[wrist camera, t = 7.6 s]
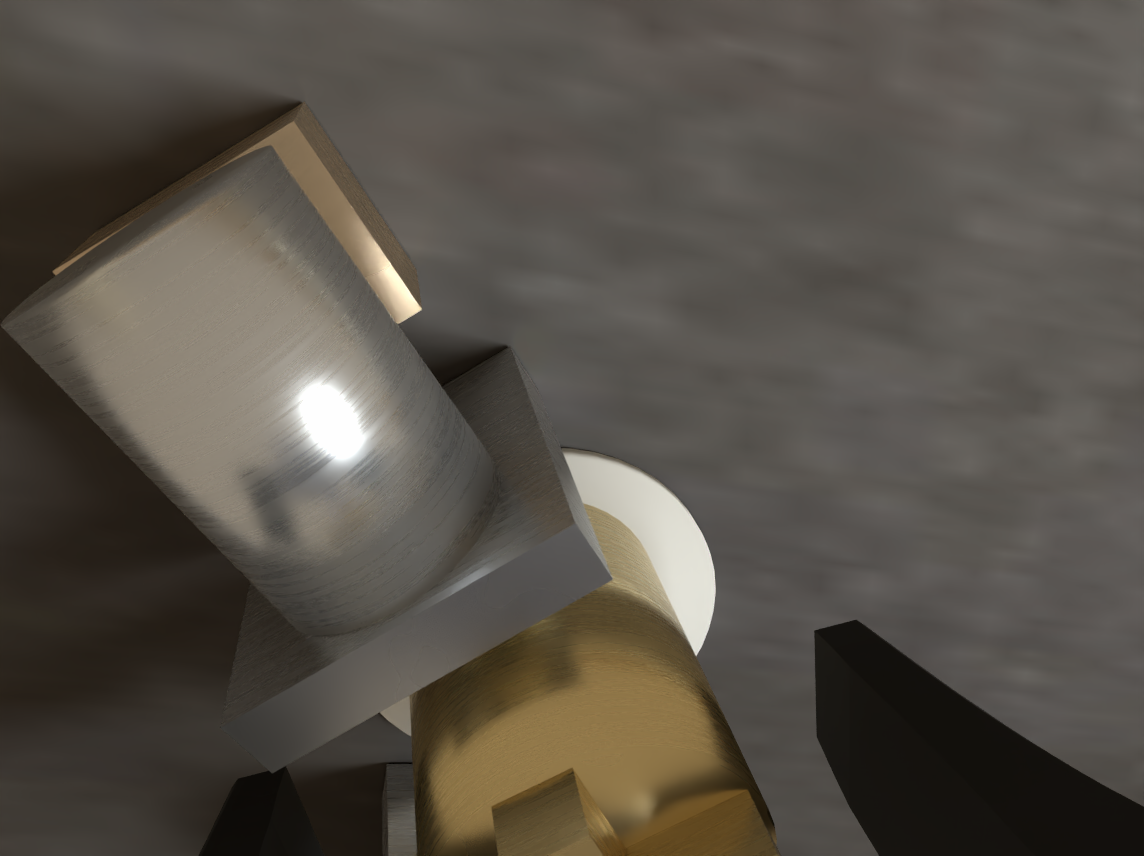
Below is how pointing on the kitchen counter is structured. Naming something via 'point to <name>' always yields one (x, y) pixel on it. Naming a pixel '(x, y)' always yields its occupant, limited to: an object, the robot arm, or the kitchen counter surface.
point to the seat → (658, 529)
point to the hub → (586, 736)
